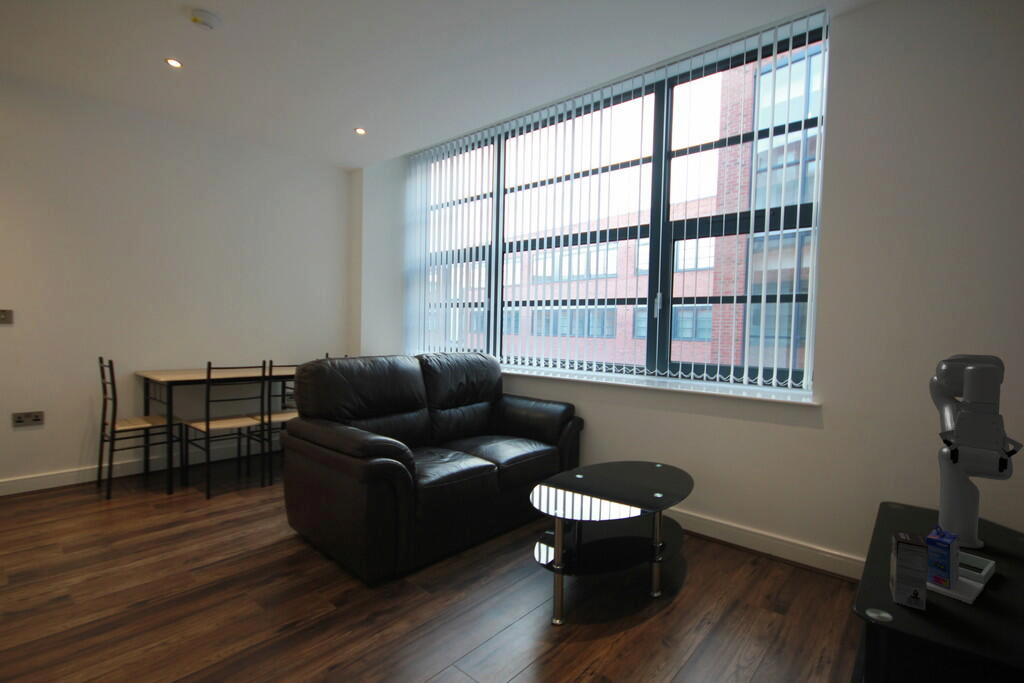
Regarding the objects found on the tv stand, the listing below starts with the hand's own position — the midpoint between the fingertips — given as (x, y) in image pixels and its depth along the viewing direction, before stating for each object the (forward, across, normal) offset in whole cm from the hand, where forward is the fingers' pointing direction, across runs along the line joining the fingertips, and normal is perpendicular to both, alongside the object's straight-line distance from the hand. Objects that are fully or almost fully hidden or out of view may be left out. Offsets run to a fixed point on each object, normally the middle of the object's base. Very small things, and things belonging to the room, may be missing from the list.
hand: (977, 467), depth 137 cm
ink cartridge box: (+29, -3, -18) cm, 34 cm away
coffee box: (+30, -6, -36) cm, 47 cm away
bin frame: (+30, -4, -3) cm, 31 cm away
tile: (+30, -3, -18) cm, 35 cm away
